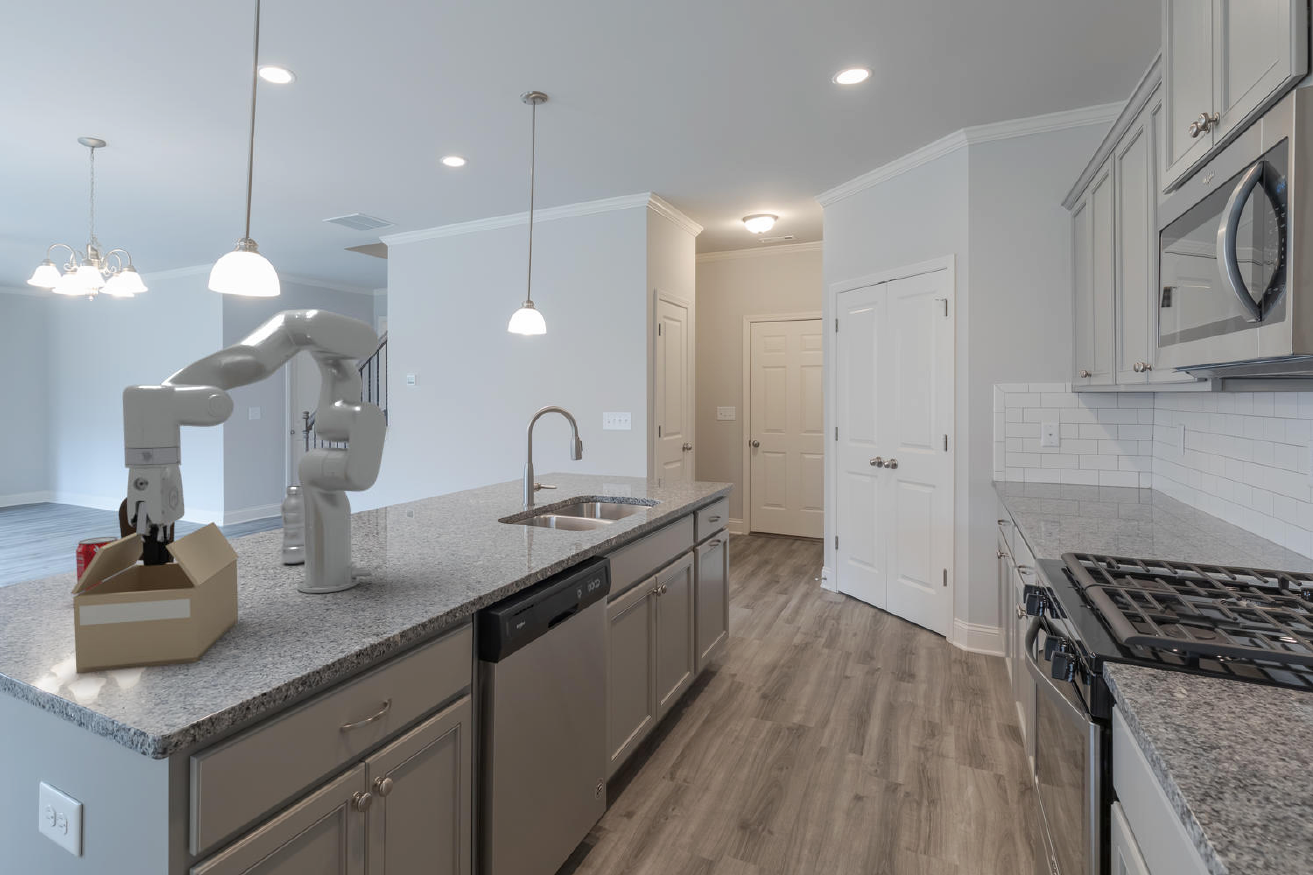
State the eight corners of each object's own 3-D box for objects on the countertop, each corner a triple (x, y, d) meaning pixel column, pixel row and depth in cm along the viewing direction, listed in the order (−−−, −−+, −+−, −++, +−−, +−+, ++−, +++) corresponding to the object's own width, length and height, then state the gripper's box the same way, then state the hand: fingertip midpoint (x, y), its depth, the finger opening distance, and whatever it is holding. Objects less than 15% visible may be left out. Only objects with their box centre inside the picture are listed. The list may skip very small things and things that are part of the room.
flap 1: (160, 525, 117) (156, 524, 117) (104, 548, 99) (100, 547, 99) (135, 563, 117) (131, 562, 116) (74, 594, 98) (70, 593, 98)
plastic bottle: (288, 560, 168) (286, 484, 167) (315, 559, 169) (313, 484, 168) (275, 566, 162) (274, 488, 161) (303, 566, 162) (302, 488, 161)
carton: (238, 620, 122) (236, 559, 122) (196, 662, 103) (194, 589, 103) (138, 628, 118) (136, 564, 117) (76, 673, 99) (72, 597, 98)
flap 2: (165, 546, 101) (169, 544, 102) (210, 523, 120) (213, 521, 120) (196, 587, 103) (199, 585, 103) (235, 558, 121) (238, 556, 122)
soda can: (97, 607, 129) (94, 544, 128) (68, 604, 131) (66, 542, 130) (132, 597, 136) (130, 536, 135) (105, 594, 138) (102, 534, 137)
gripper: (160, 461, 102) (163, 574, 103) (196, 453, 117) (199, 553, 118) (103, 462, 100) (107, 577, 101) (147, 454, 114) (150, 555, 115)
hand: (156, 564), depth 109 cm, fingers closed
